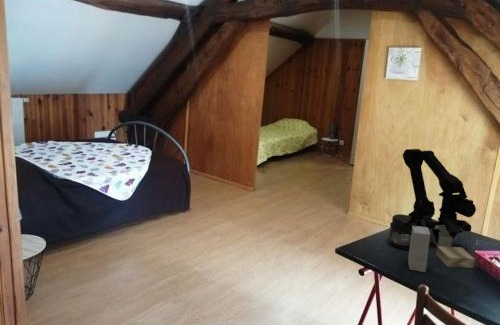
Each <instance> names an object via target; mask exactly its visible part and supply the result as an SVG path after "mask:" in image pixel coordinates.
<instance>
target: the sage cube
mask: <svg viewBox="0 0 500 325" xmlns="http://www.w3.org/2000/svg"><path fill="white" fill-rule="evenodd" d="M452 238H453V237H452V236H450V235H449V232H441V231H440V232H439V235H438V242H437V243H436V242H435V239H433V240H434V242H433V243H434V244H435V246H436V247H437V246H445V247H452V243H453V240H452Z"/></svg>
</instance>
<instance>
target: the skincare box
mask: <svg viewBox="0 0 500 325" xmlns="http://www.w3.org/2000/svg"><path fill="white" fill-rule="evenodd" d="M430 232H431V231H430V229H428V227H420V226H412V232H411V241H410V249H408V250H409V251H408V258H407V264H408V268H409V270H411V271H416V272H421V273H426V272H427V264H428V263H427V262H428V257H429V256H428V255H429V248H430V240H431V233H430Z"/></svg>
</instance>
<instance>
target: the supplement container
mask: <svg viewBox="0 0 500 325" xmlns="http://www.w3.org/2000/svg"><path fill="white" fill-rule="evenodd" d="M391 220H392V221H391V222H390V224H389V227H390V228H389V232H388V239H387V240H388V243H389V245H391V246H392V247H394V248H396V249H399V250H400V249H401V250H409V249H410V241H411V232H412V226H416V223H417V220H416V219H415V218H414V217H411V216H408V215H407V214H400V213H398V214H394V215H393V216H392V219H391Z"/></svg>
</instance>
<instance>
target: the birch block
mask: <svg viewBox="0 0 500 325" xmlns="http://www.w3.org/2000/svg"><path fill="white" fill-rule="evenodd" d="M435 250H436V252H435V255H436V256H437V258H438V259H440V261H441V262H442V263H443V264H444V265H445V266H446V267H450V268H451V267H455V268H471V269H474V266H475V262H476V258H475V257H474V256H473V255H471V254H470V253H469V252H468V251H467V250H466V249H465V248H464V247H460V246H451V247H445V246H437V245H436V249H435Z"/></svg>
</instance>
